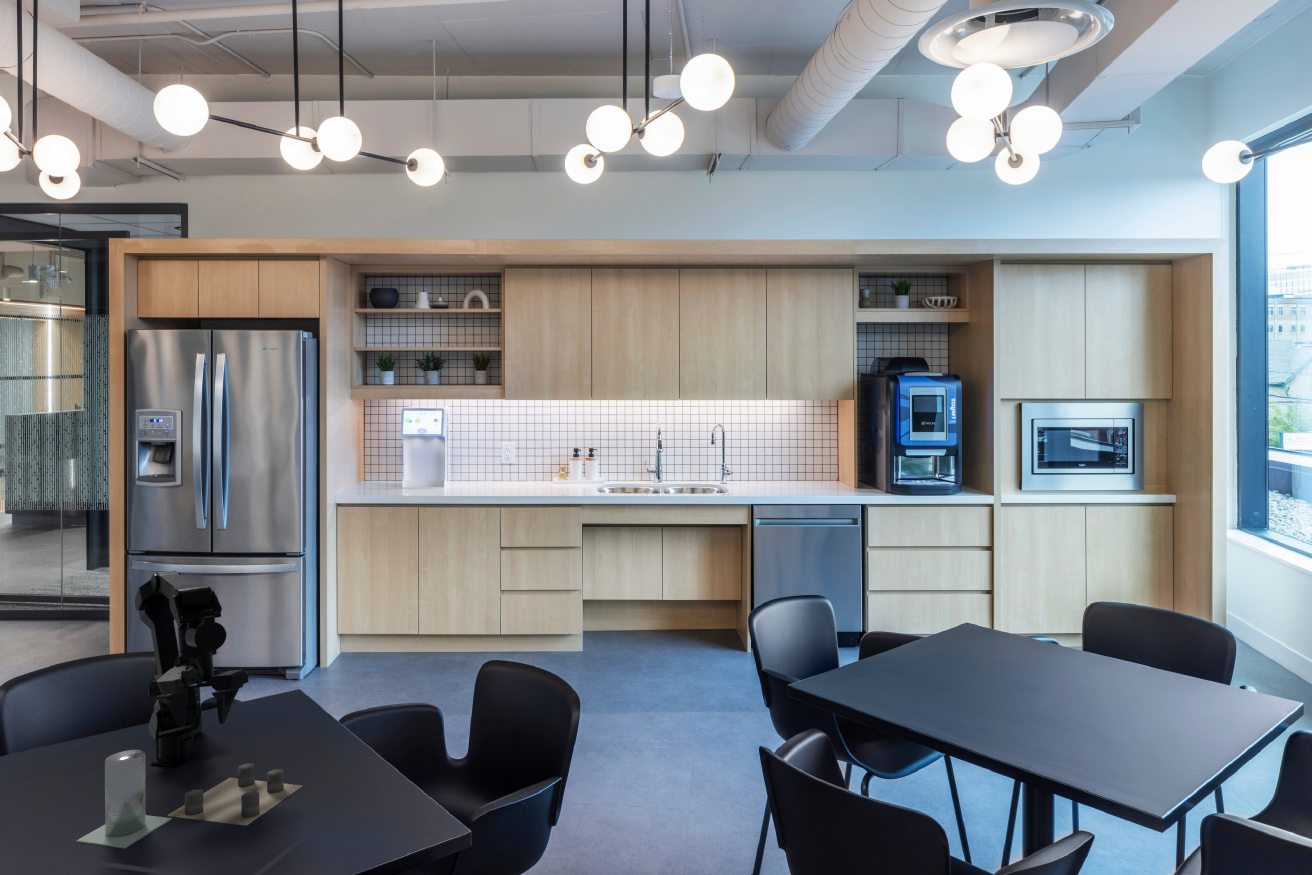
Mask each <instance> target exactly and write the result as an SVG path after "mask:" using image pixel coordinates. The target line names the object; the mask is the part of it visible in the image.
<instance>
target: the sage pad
mask: <svg viewBox="0 0 1312 875" xmlns="http://www.w3.org/2000/svg"><path fill="white" fill-rule="evenodd" d="M171 821H172V817H164V816H156V815H155V816H154V815H147V814H146V824H145V827H144V828H143V829H141V830H140V831H138V832H136V833H134V834H131V835H128V836H124V837H115V838H114V837H108V836H106V835H105V824H103V825H102V826H100V827H98V828H96V829H95V830H93V831H91V832H89V833H88V834H85V835H84V836H82V837H80V838H79V839H77V840H76V843H81V844H89V845H95V846H98V845H99V846H103V847H111V848H119V849H126V848H128V847H130V846H131V845H133V844H135V843H136V842H138V841H140V840H141V839H143V838H145V837H146V836H147V835H149V834H151V833H152V832H154V831H156V830H157V829H159V828H161V827H162V826H164V825H165V824H168V822H171Z"/></svg>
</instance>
